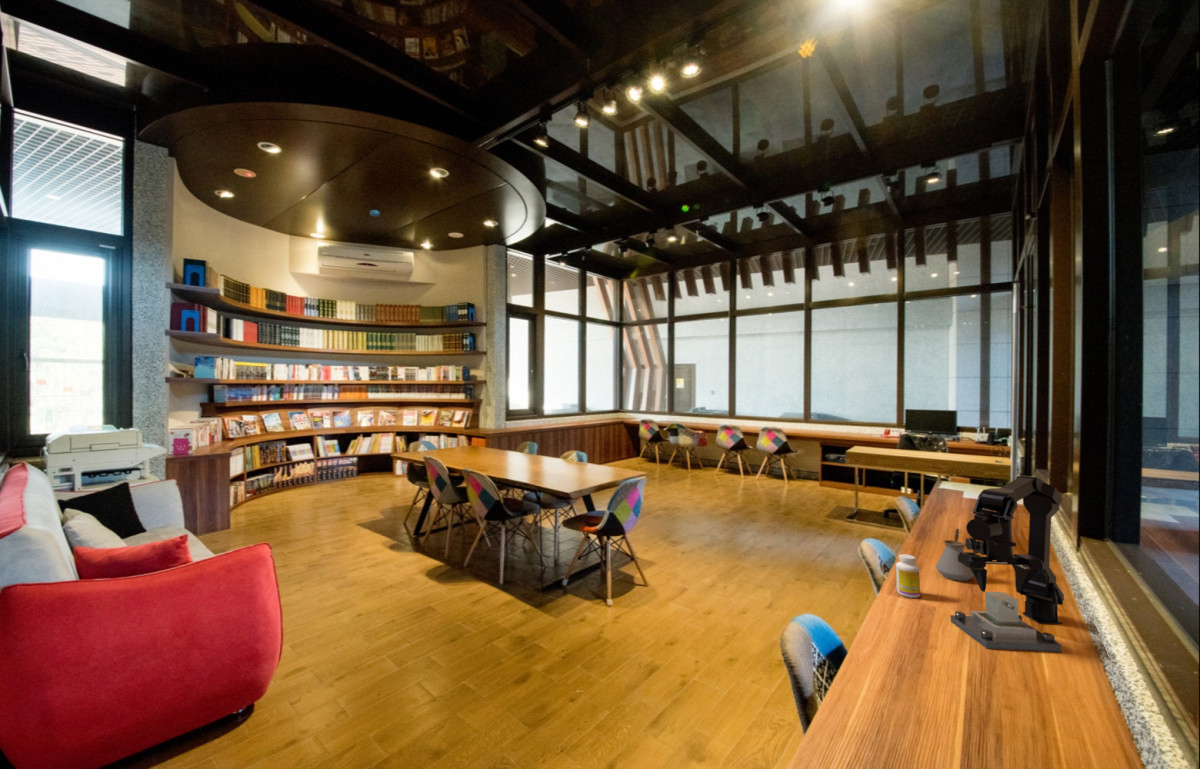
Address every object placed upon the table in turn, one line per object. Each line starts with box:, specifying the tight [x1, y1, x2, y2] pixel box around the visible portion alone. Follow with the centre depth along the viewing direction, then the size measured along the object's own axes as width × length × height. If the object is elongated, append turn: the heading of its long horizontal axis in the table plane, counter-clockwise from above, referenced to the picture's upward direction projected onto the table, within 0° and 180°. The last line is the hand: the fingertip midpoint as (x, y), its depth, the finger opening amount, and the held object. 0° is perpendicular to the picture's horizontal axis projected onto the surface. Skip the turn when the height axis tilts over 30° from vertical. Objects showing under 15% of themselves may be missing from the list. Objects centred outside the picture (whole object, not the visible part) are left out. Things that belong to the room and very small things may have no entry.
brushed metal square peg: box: [984, 591, 1019, 627], centre depth 129 cm, size 5×6×9 cm
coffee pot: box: [935, 528, 975, 582], centre depth 176 cm, size 21×12×15 cm, turn 137°
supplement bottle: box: [895, 553, 921, 599], centre depth 158 cm, size 7×7×13 cm
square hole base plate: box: [950, 610, 1062, 653], centre depth 129 cm, size 18×15×4 cm
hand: (1000, 591), depth 130 cm, fingers open, 9 cm apart
